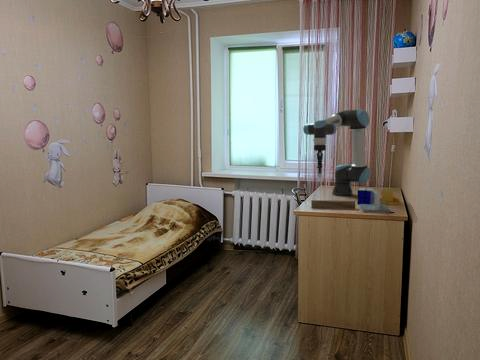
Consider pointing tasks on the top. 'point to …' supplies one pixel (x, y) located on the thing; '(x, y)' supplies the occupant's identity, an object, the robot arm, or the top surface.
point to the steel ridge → (375, 199)
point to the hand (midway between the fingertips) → (319, 177)
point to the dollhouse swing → (389, 198)
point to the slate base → (370, 209)
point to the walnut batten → (333, 204)
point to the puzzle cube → (364, 196)
